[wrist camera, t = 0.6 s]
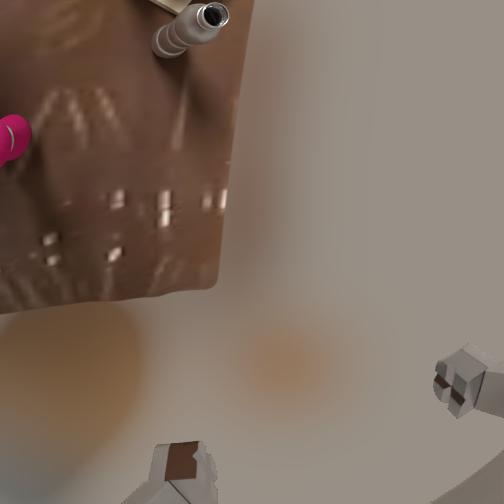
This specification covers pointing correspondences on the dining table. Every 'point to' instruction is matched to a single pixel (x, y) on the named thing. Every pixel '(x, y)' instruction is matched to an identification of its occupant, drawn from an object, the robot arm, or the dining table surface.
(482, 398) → the robot arm
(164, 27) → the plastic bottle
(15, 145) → the magenta pepper grinder
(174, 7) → the wooden compartment rack
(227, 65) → the dining table surface
